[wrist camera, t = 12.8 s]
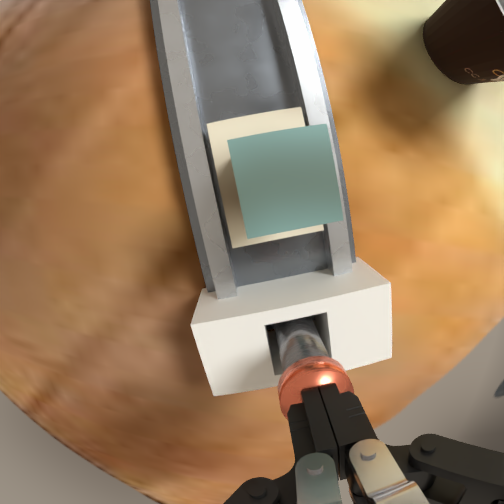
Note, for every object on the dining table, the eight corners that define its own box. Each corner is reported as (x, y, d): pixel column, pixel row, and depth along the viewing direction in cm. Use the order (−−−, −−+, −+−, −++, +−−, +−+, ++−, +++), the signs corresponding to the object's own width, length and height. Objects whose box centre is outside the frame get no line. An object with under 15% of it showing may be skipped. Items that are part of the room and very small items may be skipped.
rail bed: (150, -19, 16) (141, -36, 14) (282, -42, 16) (286, -61, 14) (220, 331, 23) (218, 350, 20) (355, 303, 23) (367, 318, 20)
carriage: (209, 128, 18) (178, 86, 8) (295, 113, 18) (345, 60, 8) (233, 240, 20) (225, 306, 10) (316, 224, 20) (381, 273, 10)
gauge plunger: (261, 296, 21) (275, 380, 12) (309, 286, 21) (352, 363, 12) (270, 337, 22) (285, 432, 13) (315, 328, 22) (354, 416, 13)
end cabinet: (202, 288, 22) (190, 324, 17) (358, 256, 22) (390, 282, 16) (218, 350, 23) (214, 396, 18) (363, 319, 23) (391, 357, 18)
